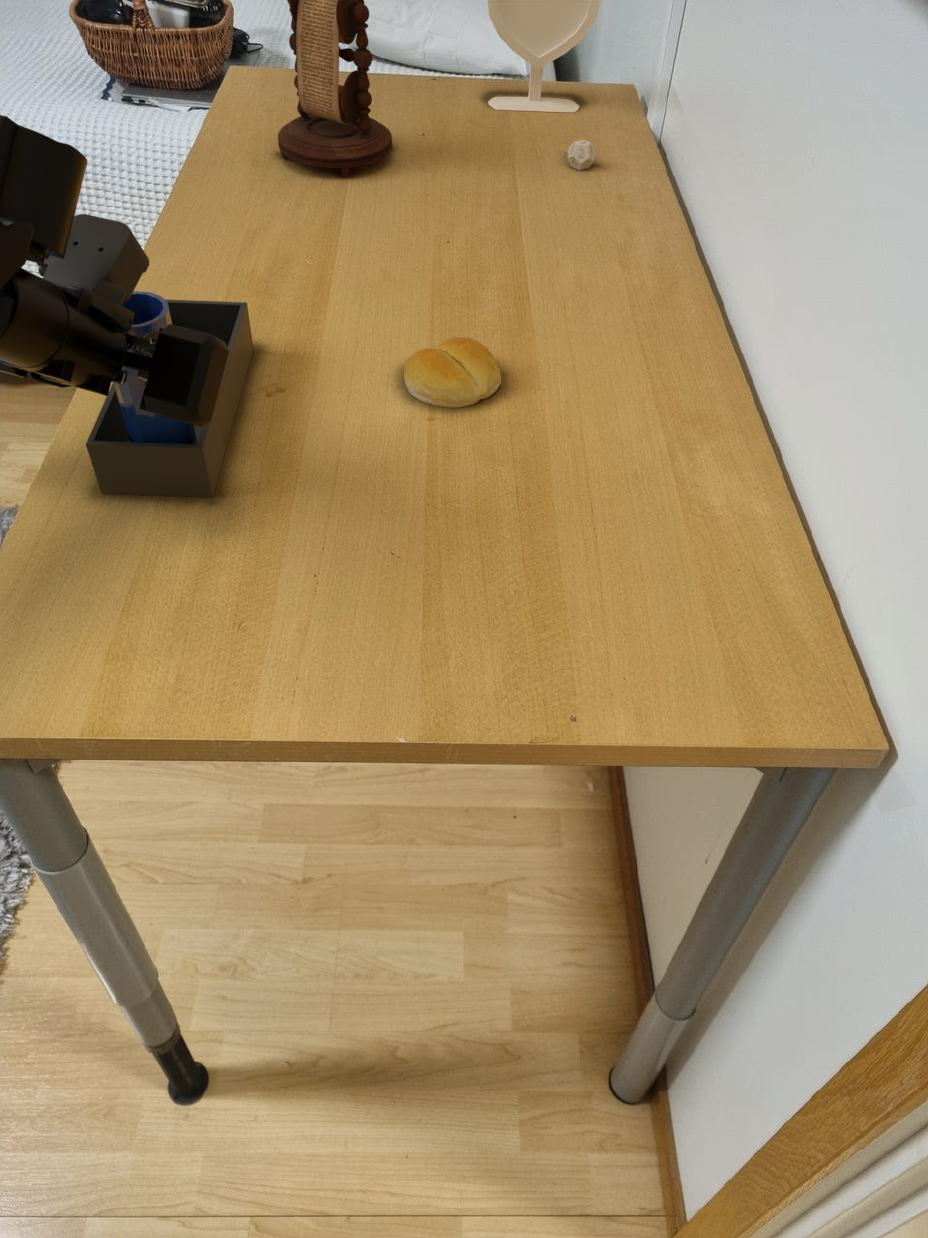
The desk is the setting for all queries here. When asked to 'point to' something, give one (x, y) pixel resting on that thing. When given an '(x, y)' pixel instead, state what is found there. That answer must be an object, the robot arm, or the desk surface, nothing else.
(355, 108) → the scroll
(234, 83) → the desk surface
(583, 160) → the game die
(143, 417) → the cup
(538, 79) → the heart sculpture
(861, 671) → the desk surface
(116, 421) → the basket
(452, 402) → the bread roll
